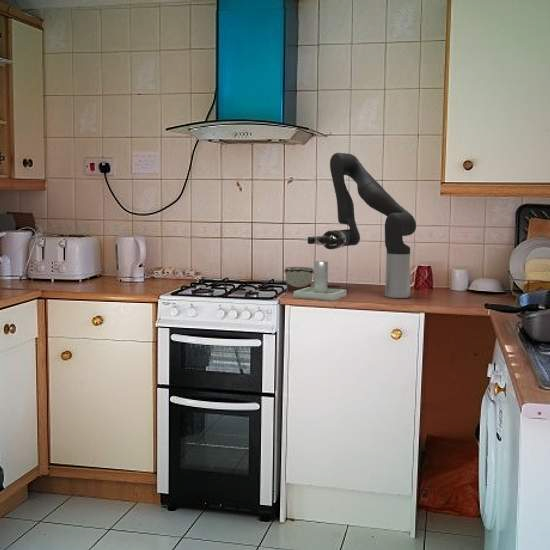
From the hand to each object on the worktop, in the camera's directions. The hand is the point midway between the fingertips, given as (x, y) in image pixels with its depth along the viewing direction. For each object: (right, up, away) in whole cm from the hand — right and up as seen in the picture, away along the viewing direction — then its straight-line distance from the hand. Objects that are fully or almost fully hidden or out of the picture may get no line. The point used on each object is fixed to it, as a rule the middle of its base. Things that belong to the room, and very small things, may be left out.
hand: (320, 241), depth 294 cm
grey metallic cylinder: (0, -21, +4) cm, 21 cm away
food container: (-7, -20, +19) cm, 28 cm away
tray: (0, -21, +4) cm, 22 cm away
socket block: (+6, -20, +18) cm, 28 cm away
